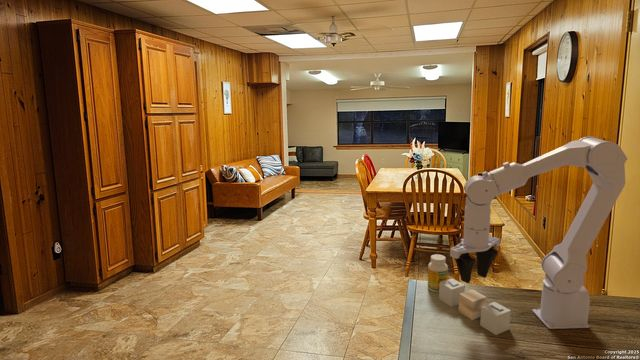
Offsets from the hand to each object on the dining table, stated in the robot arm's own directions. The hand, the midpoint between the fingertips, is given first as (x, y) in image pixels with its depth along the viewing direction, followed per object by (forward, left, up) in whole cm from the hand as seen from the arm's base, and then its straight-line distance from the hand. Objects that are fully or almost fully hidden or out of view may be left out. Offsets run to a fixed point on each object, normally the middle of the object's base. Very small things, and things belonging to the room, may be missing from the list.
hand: (473, 278), depth 100 cm
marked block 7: (+3, -6, -10) cm, 12 cm away
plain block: (0, 0, -10) cm, 10 cm away
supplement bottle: (+5, -13, -10) cm, 17 cm away
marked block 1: (-3, +6, -10) cm, 12 cm away
